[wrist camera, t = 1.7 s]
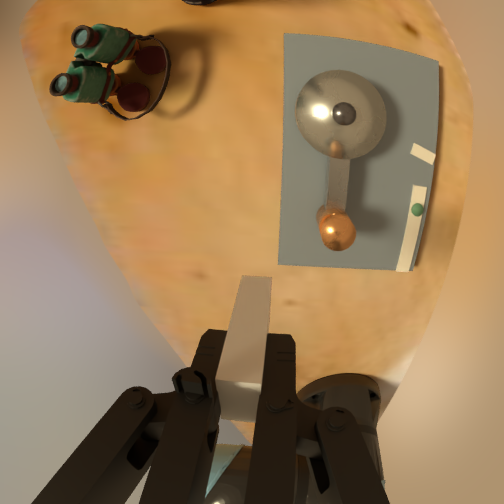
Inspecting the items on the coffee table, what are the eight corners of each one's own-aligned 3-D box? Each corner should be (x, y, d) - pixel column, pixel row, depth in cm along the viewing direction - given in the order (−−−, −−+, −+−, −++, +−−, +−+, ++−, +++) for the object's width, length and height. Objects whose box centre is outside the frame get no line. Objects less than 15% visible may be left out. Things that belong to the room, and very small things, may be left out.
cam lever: (295, 70, 22) (297, 59, 17) (379, 80, 21) (398, 73, 17) (289, 227, 29) (290, 248, 24) (365, 231, 28) (379, 253, 23)
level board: (408, 264, 31) (414, 273, 29) (278, 258, 32) (277, 267, 30) (432, 63, 20) (441, 60, 18) (284, 37, 22) (284, 31, 20)
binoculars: (114, 138, 18) (32, 102, 16) (158, 125, 28) (90, 95, 25) (167, 31, 15) (72, 8, 12) (197, 53, 24) (123, 28, 21)
